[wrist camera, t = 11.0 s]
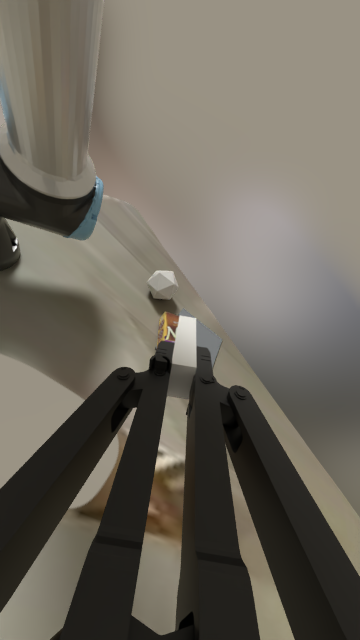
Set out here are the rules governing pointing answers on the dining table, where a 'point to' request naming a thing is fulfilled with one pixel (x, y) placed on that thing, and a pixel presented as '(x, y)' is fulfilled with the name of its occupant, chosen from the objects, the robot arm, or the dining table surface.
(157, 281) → the die
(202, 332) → the felt mat
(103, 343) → the dining table surface
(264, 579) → the dining table surface
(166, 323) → the candy box
